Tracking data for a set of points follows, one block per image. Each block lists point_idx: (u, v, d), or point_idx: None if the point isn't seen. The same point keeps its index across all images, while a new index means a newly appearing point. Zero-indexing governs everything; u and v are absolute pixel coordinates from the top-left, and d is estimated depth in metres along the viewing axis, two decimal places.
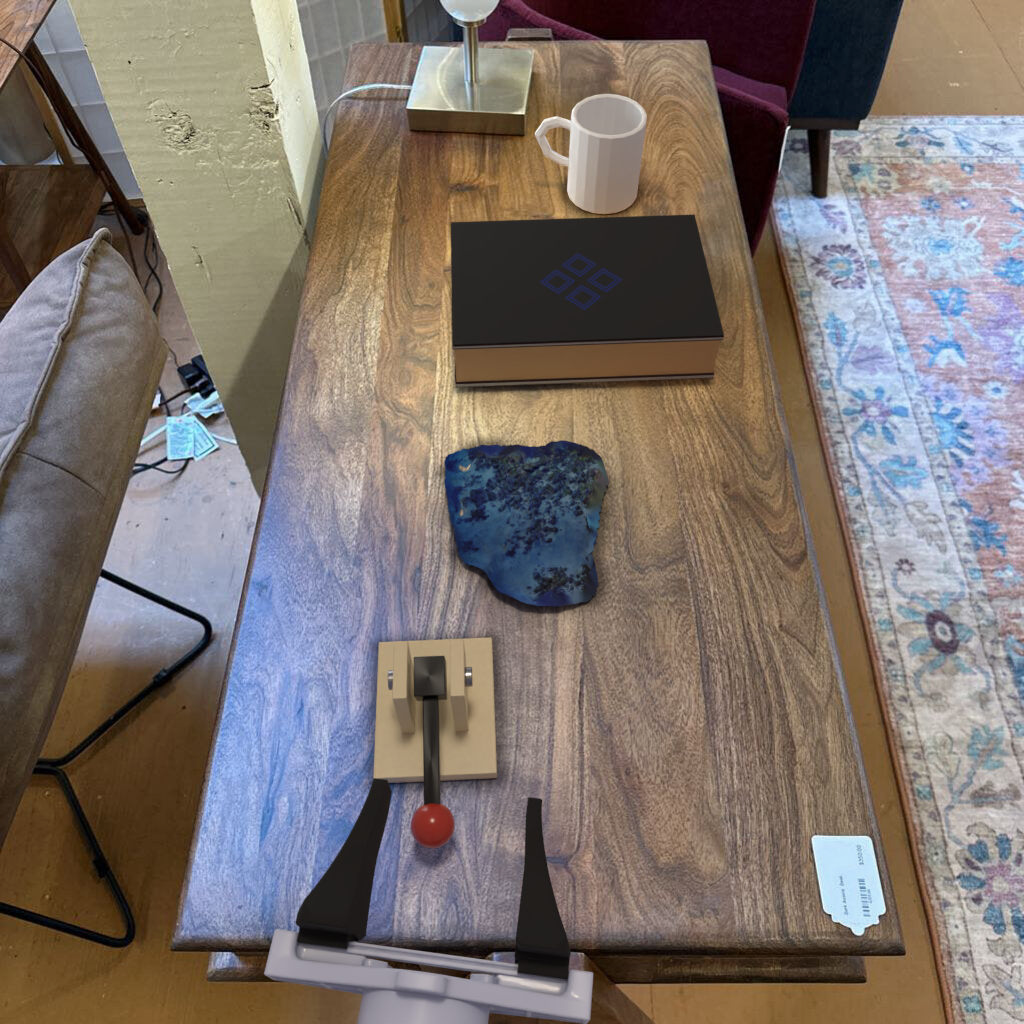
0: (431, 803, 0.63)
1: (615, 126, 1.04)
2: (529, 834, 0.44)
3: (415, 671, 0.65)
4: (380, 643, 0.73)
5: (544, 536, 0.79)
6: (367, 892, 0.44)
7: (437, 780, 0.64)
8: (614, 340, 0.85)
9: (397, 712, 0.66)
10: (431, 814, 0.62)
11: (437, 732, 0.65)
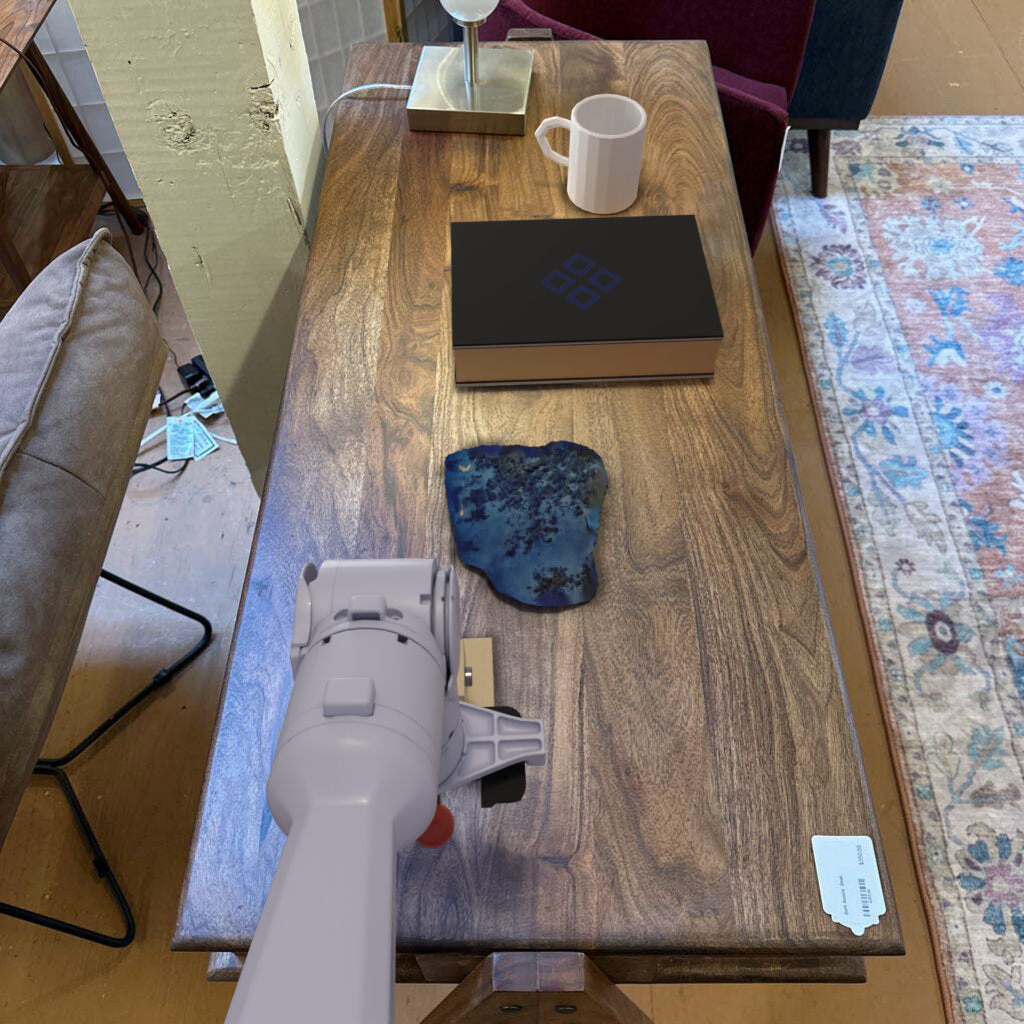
0: None
1: (615, 126, 1.04)
2: None
3: None
4: None
5: (544, 536, 0.79)
6: None
7: None
8: (614, 340, 0.85)
9: None
10: None
11: None
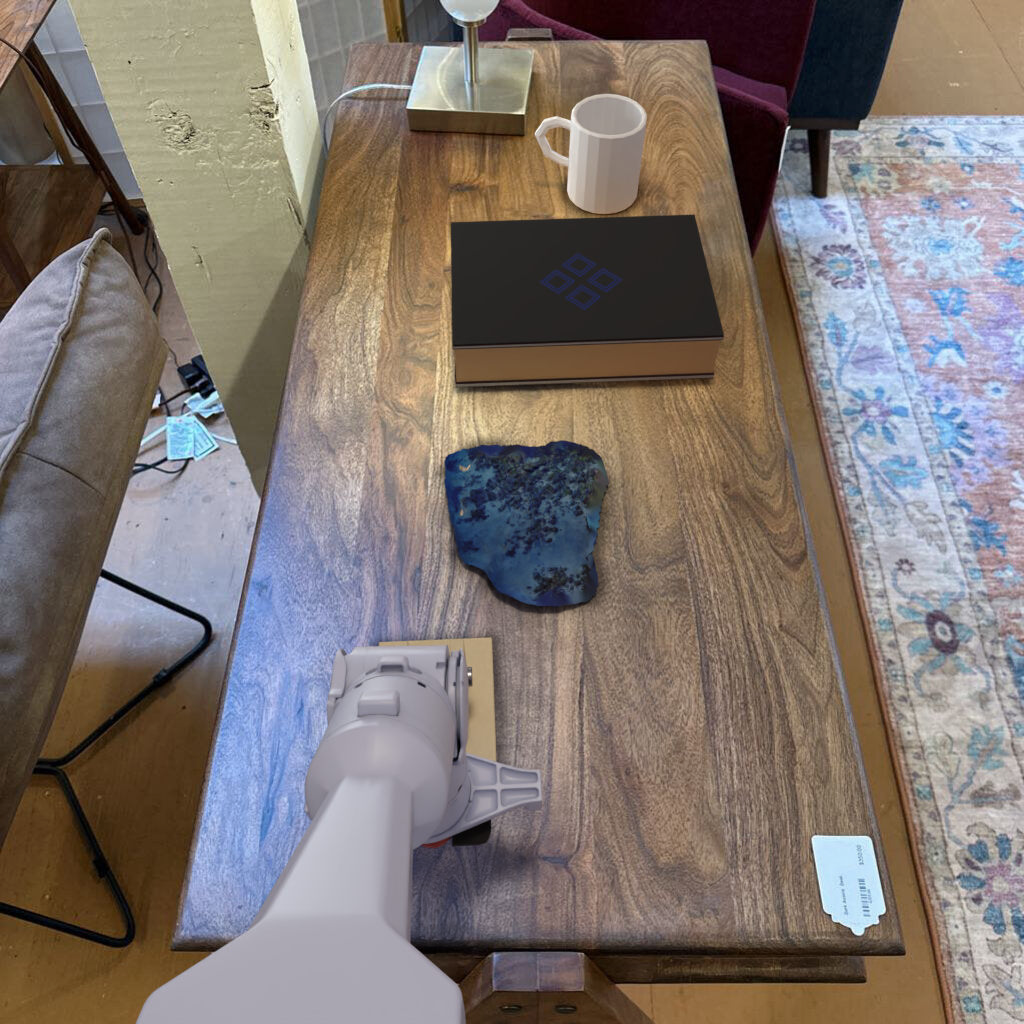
0: None
1: (615, 126, 1.04)
2: None
3: None
4: (380, 643, 0.73)
5: (544, 536, 0.79)
6: None
7: None
8: (614, 340, 0.85)
9: None
10: None
11: None
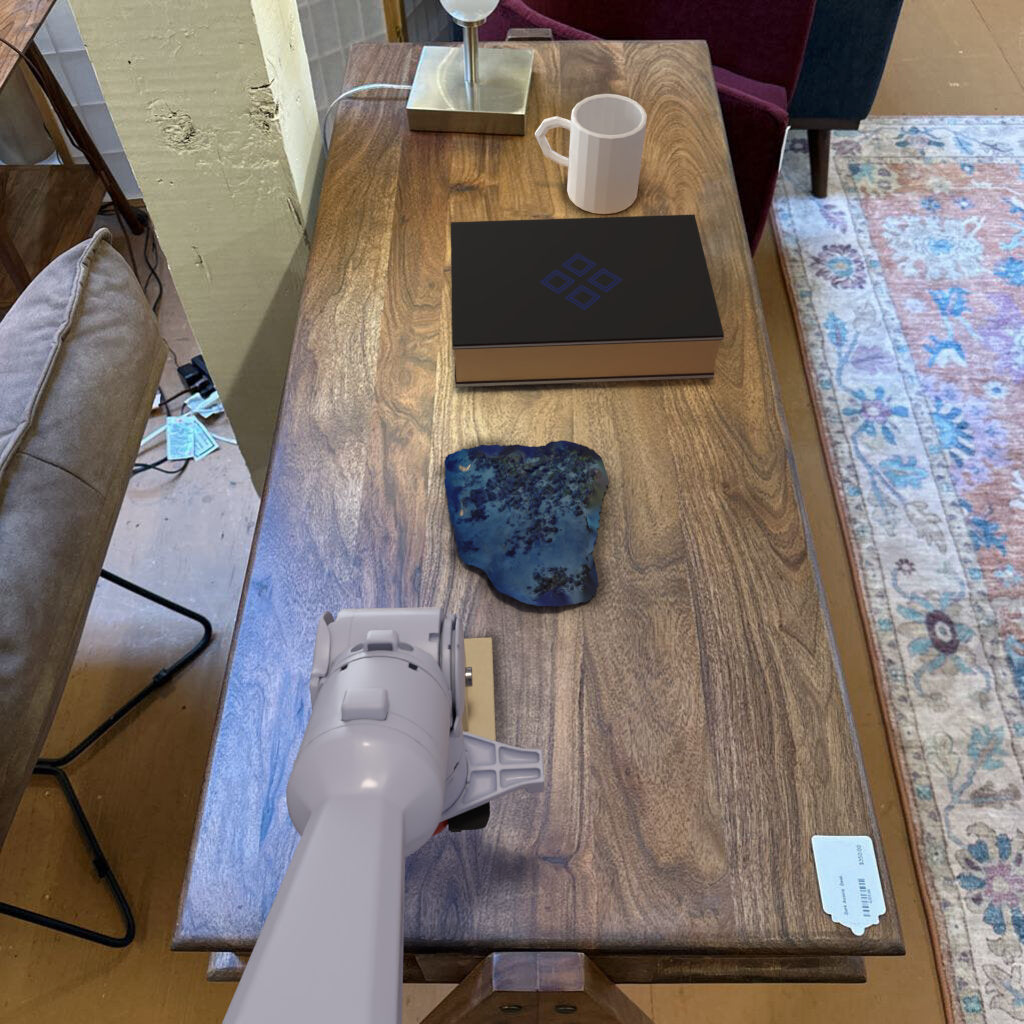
0: None
1: (615, 126, 1.04)
2: None
3: None
4: None
5: (544, 536, 0.79)
6: None
7: None
8: (614, 340, 0.85)
9: None
10: None
11: None
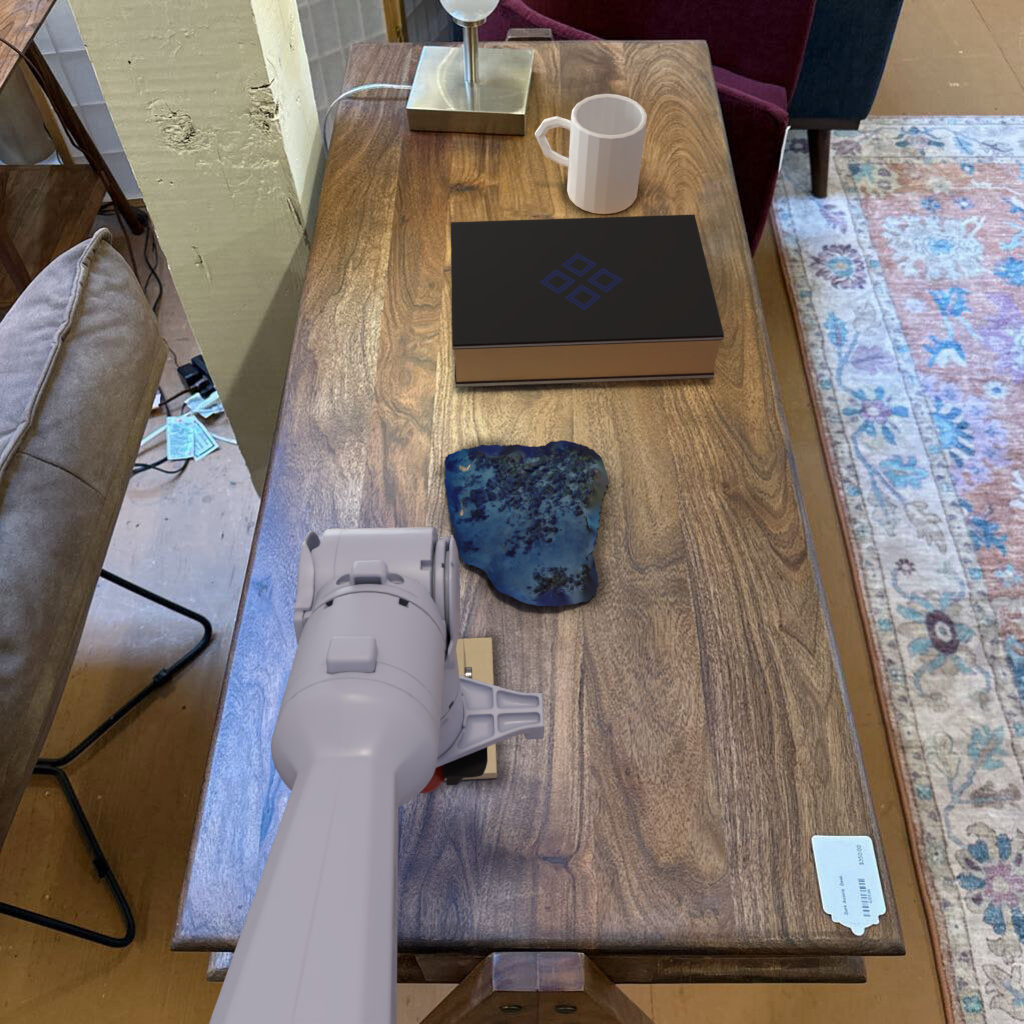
0: None
1: (615, 126, 1.04)
2: None
3: None
4: None
5: (544, 536, 0.79)
6: None
7: None
8: (614, 340, 0.85)
9: None
10: None
11: None
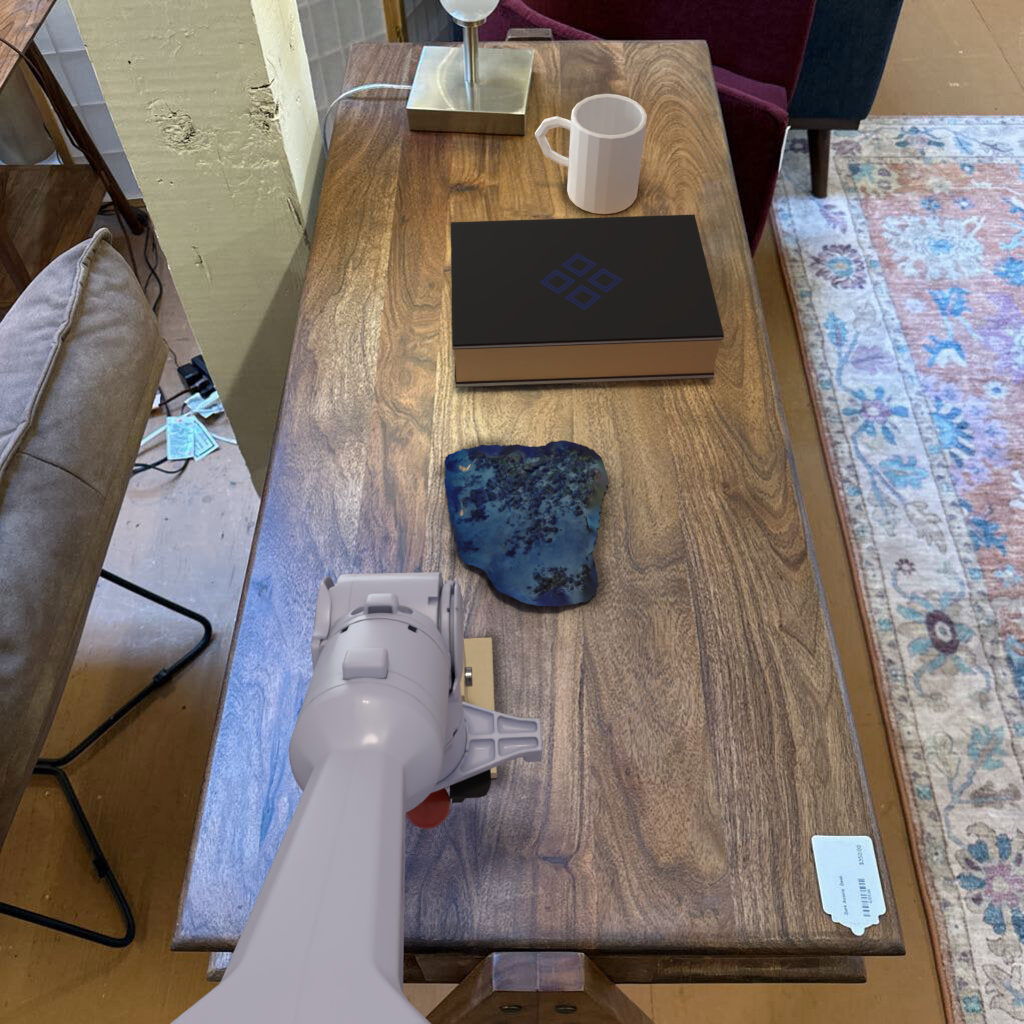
0: None
1: (615, 126, 1.04)
2: None
3: None
4: None
5: (544, 536, 0.79)
6: None
7: None
8: (614, 340, 0.85)
9: None
10: None
11: None
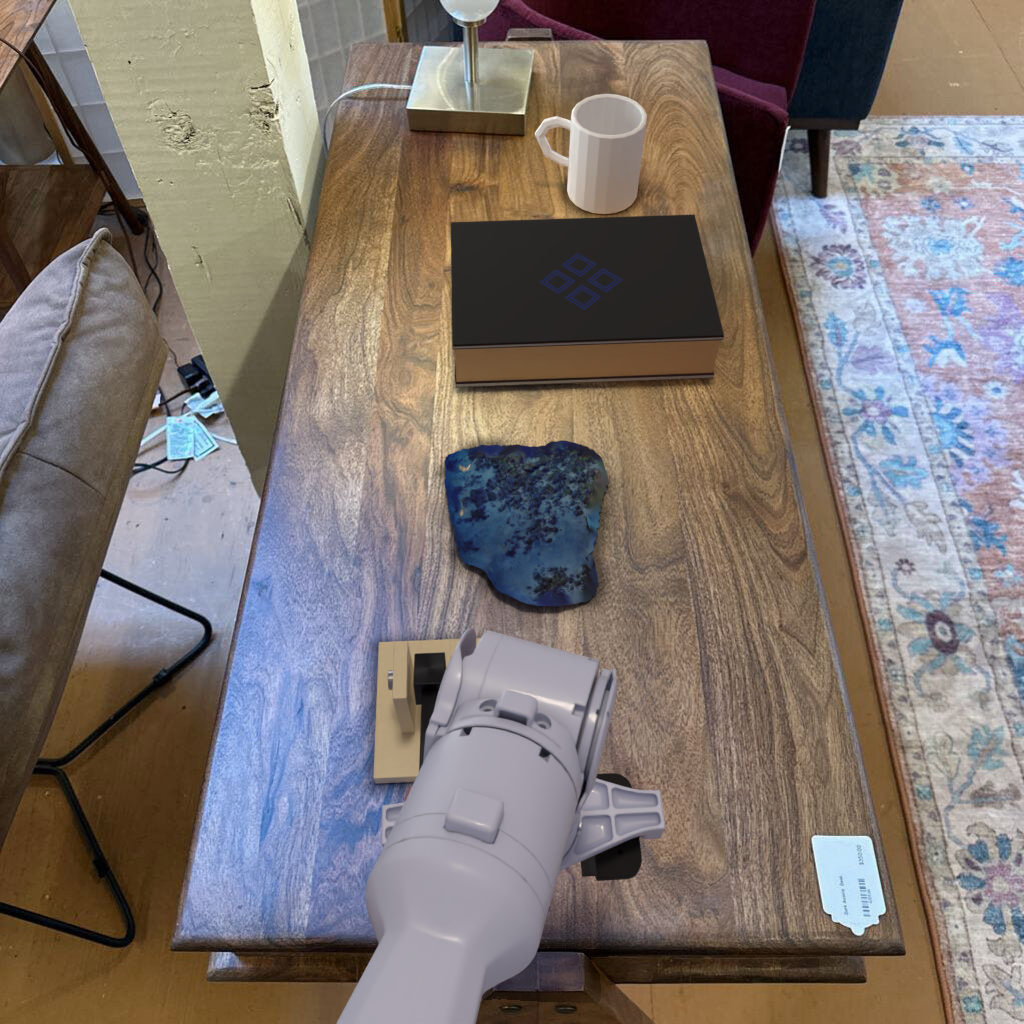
0: None
1: (615, 126, 1.04)
2: None
3: (415, 664, 0.66)
4: (380, 643, 0.73)
5: (544, 536, 0.79)
6: None
7: None
8: (614, 340, 0.85)
9: (397, 712, 0.66)
10: None
11: None
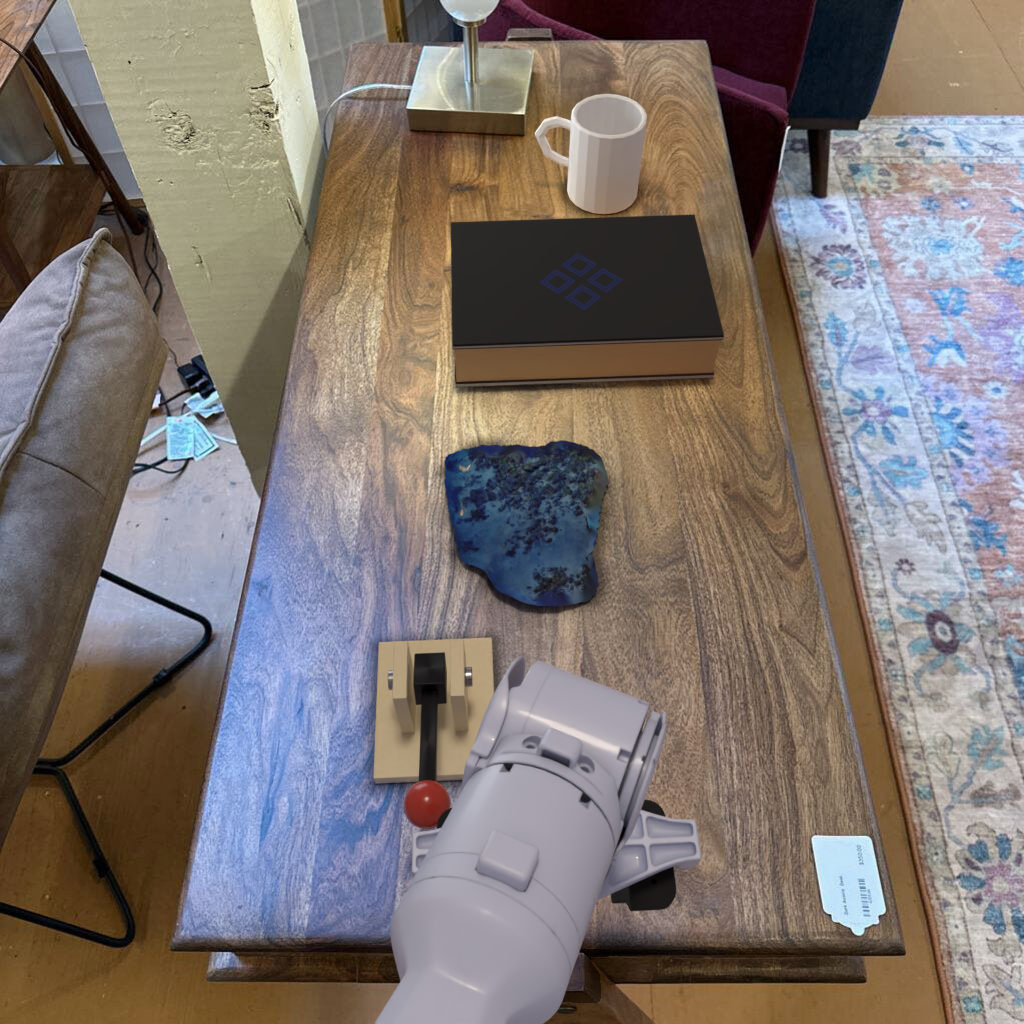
0: (426, 780, 0.60)
1: (615, 126, 1.04)
2: None
3: (415, 664, 0.66)
4: (380, 643, 0.73)
5: (544, 536, 0.79)
6: None
7: (433, 760, 0.61)
8: (614, 340, 0.85)
9: (397, 712, 0.66)
10: (426, 784, 0.59)
11: (435, 718, 0.63)
